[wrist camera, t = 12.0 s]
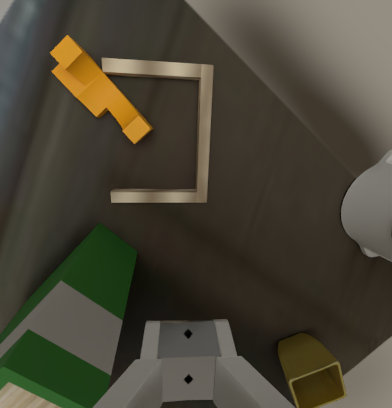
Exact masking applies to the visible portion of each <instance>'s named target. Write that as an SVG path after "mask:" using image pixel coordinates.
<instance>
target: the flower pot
mask: <svg viewBox="0 0 392 408" xmlns="http://www.w3.org/2000/svg"><path fill="white" fill-rule="evenodd" d="M278 356H279V359H280V362H281V365H282V368H283V371H284V374H285V377H286V381H287V384H288V387H289V389H290V392H291V395H292V397H293V400H294V403H295V405H296V408H319V407H321V406H323V405H326V404H329V403H332V402H334V401H337V400H339V399H342V398H344V397H346V395H347V394H346V390H345V386H344V381H343V376H342V372H341V367H340V363H339V362H338V361H337V359H336V358H335V357H334V356H333V355H332V354H331V353H330V352H329V351H328V350H327V349H326V348H325V347H324V346H323V345H322V344H321V343H320V342H319V341H318V340H317V339H316V338H314V337H312V336H310V335H308V334H305V333H298V334H296V335H294V336H291V337H288V338H286V339H283V340H281V341H279V343H278Z"/></svg>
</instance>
